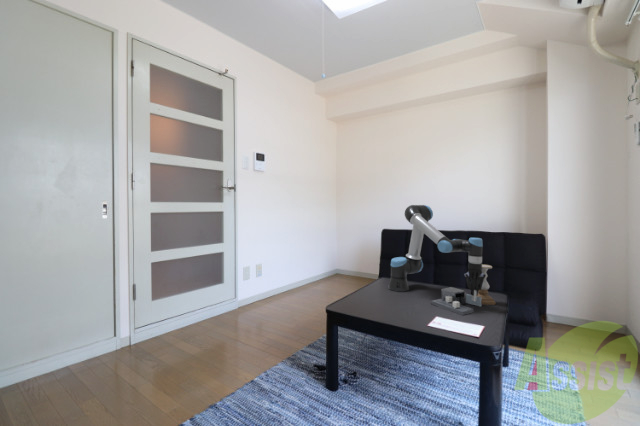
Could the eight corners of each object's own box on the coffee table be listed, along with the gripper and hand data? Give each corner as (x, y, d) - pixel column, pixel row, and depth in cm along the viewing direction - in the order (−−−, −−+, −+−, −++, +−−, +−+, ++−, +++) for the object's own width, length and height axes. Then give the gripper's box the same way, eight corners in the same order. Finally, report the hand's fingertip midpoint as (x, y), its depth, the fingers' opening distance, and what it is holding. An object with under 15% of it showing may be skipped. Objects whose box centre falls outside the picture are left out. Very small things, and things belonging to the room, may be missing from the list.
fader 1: (445, 301, 181) (445, 296, 181) (448, 300, 183) (448, 295, 183) (448, 302, 179) (448, 297, 179) (452, 301, 180) (452, 296, 180)
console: (430, 304, 183) (430, 300, 183) (441, 301, 188) (441, 298, 188) (462, 315, 164) (462, 311, 164) (473, 312, 169) (473, 308, 169)
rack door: (480, 307, 176) (480, 296, 176) (464, 302, 184) (464, 292, 184) (482, 306, 178) (482, 295, 178) (466, 302, 186) (466, 292, 186)
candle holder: (487, 299, 193) (488, 264, 193) (496, 305, 182) (496, 267, 182) (470, 299, 194) (471, 263, 194) (477, 304, 183) (478, 267, 183)
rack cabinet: (441, 301, 189) (441, 288, 189) (451, 298, 194) (451, 287, 194) (454, 305, 180) (454, 292, 180) (464, 303, 185) (464, 290, 185)
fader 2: (452, 306, 171) (452, 301, 171) (455, 305, 173) (456, 300, 172) (456, 307, 169) (456, 302, 169) (459, 307, 170) (459, 301, 170)
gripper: (468, 263, 174) (467, 302, 174) (489, 264, 174) (487, 302, 175) (461, 261, 181) (460, 298, 182) (481, 261, 182) (480, 298, 182)
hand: (474, 300), depth 178 cm, fingers closed
